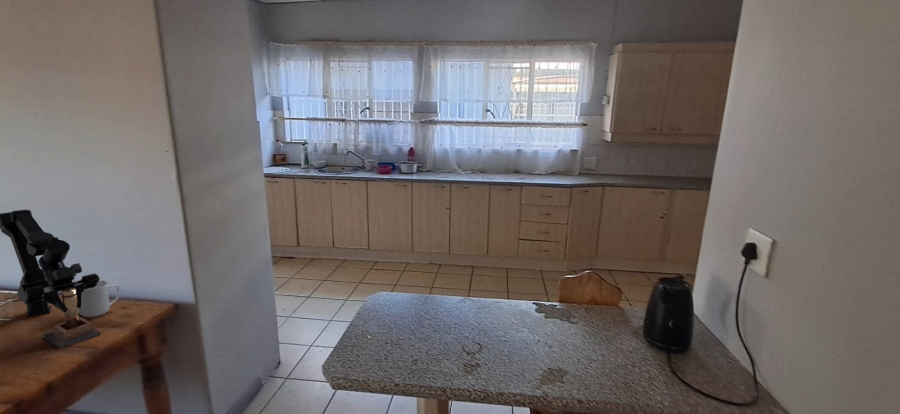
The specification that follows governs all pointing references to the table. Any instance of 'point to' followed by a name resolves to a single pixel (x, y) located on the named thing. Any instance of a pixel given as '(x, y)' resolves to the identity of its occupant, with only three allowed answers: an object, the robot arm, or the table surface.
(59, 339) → the frame
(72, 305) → the gold metallic cylinder
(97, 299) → the mug
